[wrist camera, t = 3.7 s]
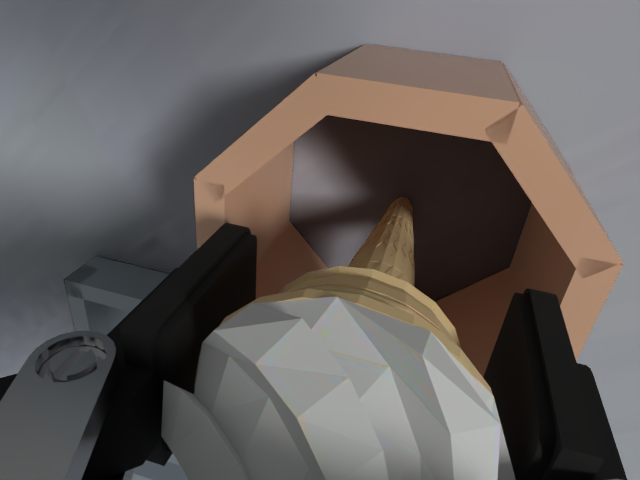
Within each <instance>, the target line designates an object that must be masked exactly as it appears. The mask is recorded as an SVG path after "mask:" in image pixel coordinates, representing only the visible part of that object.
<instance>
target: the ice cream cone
mask: <svg viewBox="0 0 640 480" xmlns="http://www.w3.org/2000/svg"><path fill="white" fill-rule="evenodd" d="M414 283H415V264H414V236H413V208H412V204H411V203H410V201H409V200H408V199H407V198H402V197H401V198H398V199H396V200H395V201H393V202H392V204H391V205H390V206H389V208H388V209H387V211H386V212H385V214H384V216H383V217H382V219H381V220H380V222H379V223H378V224H377V225H376V227H375V228H374V230H373V231H372V232H371V234H370V236H369V237H368V239H367V240H366V242H365V243H364V245H363V246H362V247H361V248H360V250H359V251H358V252H357V254H356V255H355V256H354V258H353V259H352V261H351V263H350V264H349V266H348V267H344V266H337V267H332V268H327V269H322V270H317V271H312V272H308V273H306V274H304V275H303V276H301V277H299V278H297V279H296V280H294V281H292V282H291V283H289V284H287V285H285V286H284V287H283V288H282V290H281V291H280V292H279V294H274V295H269V296H263V297H259V298H257V299H256V300H254V301H252V302H251V303H249V304H247V305H245V306H244V307H242V308H240V309H239V310H237V311H235V312H234V313H232V314H230V315H228V316H227V317H225V319H224V320H223V321H222V323H221V324H220V325H219V327H218V328H216V329H215V330H214V331H213V332H212V333H211V334H210V335H209V336H208V337H207V338H206V339H205V340H204V341H203V342H202V346H201V352H200V354H199V359H198V365H197V371H196V377H195V383H194V388H195V391H194V394H192V393H190V392H188V391H186V390H184V389H181V388H179V387H177V386H175V385H173V384H171V383H169V382H167V381H164V386H163V408H162V430H161V436H162V438H163V439H164V441H165V442H166V443H167V445H168V446H169V448H170V449H171V451H172V453H173V454H174V456H175V458H176V459H177V461H178V462H179V464H180V466H181V467H182V469H183V470H184V472H185V474H186V475H187V477H188V480H516V479H515V475H514V472H513V468H512V464H511V460H510V456H509V453H508V449H507V445H506V441H505V437H504V434H503V430H502V425H501V422H500V418H499V415H498V411H497V407H496V403H495V399H494V396H493V394H492V391H491V388H490V386H489V385H488V384H487V382H486V381H485V380H484V378H483V377H482V376H481V374H480V373H479V372H478V371H477V369H476V368H475V367H474V365H473V364H472V363H471V361H470V360H469V359H468V357H467V356H466V355H465V353H464V352H463V351H462V349H461V346H460V343H459V339H458V336H457V333H456V330H455V327H454V326H453V325H452V323H451V322H450V321H449V320H448V318H447V317H446V316H445V314H444V313H443V312H442V310H441V309H440V308H439V306H438V305H437V304H436V302H434V301H433V300H432V299H430V298H429V297H427V296H426V295H425V294H423V293H422V292H421V291H419V290H418V289H416V288H415V287H414Z"/></svg>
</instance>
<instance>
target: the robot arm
mask: <svg viewBox="0 0 640 480" xmlns="http://www.w3.org/2000/svg"><path fill="white" fill-rule="evenodd" d="M256 269H257V237H256V235H252V234H251V231H250V229H249V228H248V227H244V226H239V225H235V224H230V223H224V224H223V225H222V226H221V227H220V228H219V229H218V230H217V231H216V232H215V233H214V234H213V235H212V236H211V237H210V238H209V239H208V240H207V241H206V242H205V243H204V244H203V245H201V246H200V247H199V248H198V249H197V250H196V251H195V252H194V253H193V254H192V255H191V256H190V257H189V258H188V259H187V260H186V261H185V262H184V263H183V264H182V265H181V266H180V267H179V268H176V269H175V270H174V271H172V272H171V273H170V274H169V275H168V276H167V277H166V278H165V279H164V280H163V281H162V282H161V283H160V284H159V285H158V286H157V287H156V288H155V289H154V290H153V291H152V292H151V293H149V294H148V295H147V296H146V297H145V298H144V299H143V300H142V301H141V302H140V303H139V304H138V305H137V306H136V307H135V308H134V309H133V310H132V311H131V312H130V313H129V314H128V315H127V316H126V317H125V318H124V319H123V320H122V321H121V322H120V323H119V324H118V325H117V326H116V327H115V328H113V329H112V330H111V331H110V332H109V333H108V334H107V335H104V334H102V333H99V332H95V331H87V330H85V331H73V332H69V333H65V334H62V335H59V336H56V337H54V338H52V339H50V340H48V341H46V342H45V343H43V344H42V345H40V346H39V347H37V348H36V349H35V350H34V351H33V353H32V354H31V355H30V356H29V357H28V359H27V360H26V362H25V363H24V365H23V366H22V368H21V370H20V371H19V373H18V374H14V375H11V376H7V377H3V378H0V480H132V477H133V473H134V468H136V467H139V466H141V465H143V464H144V462H145V461H146V460H147V461H150V462H153V463H156V464H159V465H162V466H165V465H166V463H167V461H168V460H169V458H170V457H171V455H172V451H171V449H170V448H169V446H168V445H167V443H166V442H165V441H164V439H163V438H162V436H161V430H162V408H163V386H164V381H167V382H169V383H171V384H173V385H175V386H177V387H179V388H181V389H184V390H186V391H188V392H190V393H192V394H194V391H195V388H194V383H195V377H196V371H197V365H198V359H199V354H200V352H201V346H202V342H203V341H204V340H205V339H206V338H207V337H208V336H209V335H210V334H211V333H212V332H213V331H214V330H215V329H216V328H218V327H219V325H220V324H221V323H222V321H223V320H224V319H225V317H227V316H228V315H230V314H232V313H234V312H235V311H237V310H239V309H240V308H242V307H244V306H245V305H247V304H249V303H251V302H252V301H254V300H256ZM483 378H484V380H485V381H486V382H487V384H488V385H489V386H490V388H491V391H492V394H493V396H494V399H495V403H496V407H497V411H498V415H499V418H500V422H501V425H502V430H503V434H504V437H505V441H506V445H507V449H508V453H509V456H510V460H511V464H512V468H513V472H514V475H515V479H516V480H627V478H626V475H625V471H624V468H623V465H622V462H621V459H620V456H619V453H618V450H617V447H616V444H615V441H614V438H613V434H612V431H611V428H610V425H609V422H608V419H607V416H606V413H605V410H604V407H603V404H602V401H601V398H600V394H599V391H598V388H597V385H596V382H595V379H594V376H593V373H592V371H591V369H590V368H589V367H588V366H586V365H582V364H578V363H577V362H576V359H575V356H574V352H573V349H572V345H571V342H570V338H569V335H568V332H567V328H566V325H565V321H564V318H563V314H562V311H561V308H560V304H559V301H558V297H557V295H556V294H552V293H548V292H543V291H539V290H534V289H529V288H527V289H526V290H525V291H524V293H523V294H520V293H515V294H514V295H513V297H512V300H511V302H510V305H509V308H508V311H507V313H506V316H505V319H504V322H503V324H502V327H501V330H500V332H499V335H498V338H497V341H496V343H495V346H494V349H493V352H492V354H491V357H490V360H489V363H488V365H487V368H486V371H485V374H484V376H483Z"/></svg>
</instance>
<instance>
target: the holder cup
mask: <svg viewBox="0 0 640 480" xmlns="http://www.w3.org/2000/svg"><path fill="white" fill-rule="evenodd" d="M326 115H331V116H337V117H343V118H349V119H355V120H361V121H367V122H374V123H380V124H386V125H392V126H398V127H404V128H410V129H416V130H422V131H429V132H435V133H441V134H447V135H453V136H459V137H465V138H471V139H477V140H484V141H490V142H492V143H493V145H494V146H495V148H496V149H497V151H498V152H499V154H500V155H501V157H502V158H503V160H504V161H505V163H506V164H507V166H508V167H509V169H510V170H511V172H512V173H513V175H514V176H515V178H516V179H517V181H518V182H519V184H520V185H521V187H522V188H523V190H524V191H525V193H526V194H527V196H528V197H529V199H530V200H531V202H532V205H531V208H530V210H529V213H528V216H527V219H526V222H525V225H524V228H523V231H522V233H521V236H520V239H519V242H518V245H517V248H516V251H515V254H514V256H513V259H512V262H511V265H510V267H509V268H507V269H505V270H503V271H500V272H498V273H496V274H494V275H492V276H490V277H487V278H485V279H483V280H481V281H479V282H477V283H475V284H472V285H470V286H468V287H466V288H464V289H462V290H460V291H457V292H455V293H453V294H451V295H449V296H447V297H444V298H442V299H440V300H438V301H436V304H437V305H438V306H439V308H440V309H441V310H442V312H443V313H444V314H445V316H446V317H447V318H448V320H449V321H450V322H451V323H452V325H453V326H454V327H455V330H456V333H457V336H458V339H459V343H460V346H461V349H462V351H463V352H464V353H465V355H466V356H467V357H468V359H469V360H470V361H471V363H472V364H473V365H474V367H475V368H476V369H477V371H478V372H479V373H480V374H481V376H482V377H483V376H484V374H485V371H486V368H487V365H488V363H489V360H490V357H491V354H492V352H493V349H494V346H495V343H496V341H497V338H498V335H499V332H500V330H501V327H502V324H503V322H504V319H505V316H506V313H507V311H508V308H509V305H510V302H511V300H512V297H513V295H514V294H515V293H520V294H523V293H524V291H525V290H526V289H527V288H529V289H534V290H539V291H543V292H548V293H552V294H556V295H557V297H558V301H559V304H560V308H561V311H562V314H563V318H564V321H565V325H566V328H567V332H568V335H569V338H570V342H571V345H572V349H573V352H574V356H575V359H576V360H577V358H578V356H579V354H580V352H581V350H582V348H583V346H584V344H585V342H586V340H587V338H588V336H589V334H590V332H591V330H592V328H593V326H594V324H595V322H596V320H597V318H598V315H599V313H600V311H601V309H602V307H603V305H604V303H605V301H606V299H607V297H608V295H609V293H610V291H611V289H612V287H613V285H614V283H615V281H616V279H617V277H618V275H619V273H620V271H621V269H622V267H623V264H622V263H623V261H622V260H621V258H620V256H619V254H618V253H617V251H616V249H615V247H614V246H613V244H612V242H611V240H610V238H609V237H608V235H607V233H606V231H605V230H604V228H603V226H602V224H601V223H600V221H599V219H598V217H597V215H596V214H595V212H594V210H593V208H592V207H591V205H590V203H589V201H588V200H587V198H586V196H585V194H584V192H583V191H582V189H581V187H580V185H579V184H578V182H577V180H576V178H575V177H574V175H573V173H572V171H571V170H570V168H569V166H568V165H567V163H566V162H565V160H564V159H563V157H562V155H561V154H560V152H559V151H558V149H557V147H556V146H555V144H554V143H553V141H552V140H551V138H550V136H549V135H548V133H547V132H546V130H545V128H544V127H543V125H542V124H541V122H540V121H539V119H538V117H537V116H536V114H535V113H534V111H533V109H532V108H531V106H530V105H529V103H528V102H527V100H526V98H525V97H524V95H523V94H522V92H521V90H520V89H519V87H518V86H517V84H516V83H515V81H514V79H513V78H512V76H511V75H510V73H509V71H508V70H507V68H506V67H505V65H504V64H503V63H501V62H500V61H493V60H485V59H478V58H470V57H463V56H455V55H447V54H440V53H432V52H425V51H417V50H410V49H402V48H394V47H387V46H379V45H372V44H365V45H363V46H361V47H359V48H357V49H356V50H354V51H352V52H351V53H349V54H347V55H345V56H344V57H342V58H340V59H338V60H337V61H335V62H333V63H332V64H330V65H328V66H326V67H325V68H323V69H321V70H319V71H318V72H316V73H314V74H313V75H312V76H311V77H309V78H308V79H307V80H306V81H305V82H304V83H302V84H301V85H300V86H299V87H298V88H297V89H296V90H294V91H293V92H292V93H291V94H290V95H289V96H287V97H286V98H285V99H284V100H283V101H282V102H280V103H279V104H278V105H277V106H276V107H275V108H274V109H272V110H271V111H270V112H269V113H268V114H267V115H265V116H264V117H263V118H262V119H261V120H260V121H258V122H257V123H256V124H255V125H254V126H253V127H251V128H250V129H249V130H248V131H247V132H246V133H245V134H243V135H242V136H241V137H240V138H239V139H238V140H236V141H235V142H234V143H233V144H232V145H231V146H229V147H228V148H227V149H226V150H225V151H224V152H223V153H221V154H220V155H219V156H218V157H217V158H216V159H214V160H213V161H212V162H211V163H210V164H209V165H207V166H206V167H205V168H204V169H203V170H202V171H200V172H199V173H198V174H197V175H196V176H195V178H194V197H195V218H196V239H197V249H198V248H199V247H200V246H201V245H203V244H204V243H205V242H206V241H207V240H208V239H209V238H210V237H211V236H212V235H213V234H214V233H215V232H216V231H217V230H218V229H219V228H220V227H221V226H222V225H223V224H224V223H230V224H235V225H239V226H244V227H248V228H249V229H250V231H251V234H252V235H256V237H257V269H256V299H257V298H259V297H263V296H269V295H274V294H279V292H280V291H281V290H282V288H283V287H284V286H285V285H287V284H289V283H291V282H292V281H294V280H296V279H297V278H299V277H301V276H303V275H304V274H306V273H308V272H312V271H317V270H322V269H327V268H328V267H327V266H326V265H325V264H324V262H323V261H322V260H321V259H320V257H319V256H318V255H317V254H316V253H315V251H314V250H313V249H312V248H311V247H310V245H309V244H308V243H307V242H306V240H305V239H304V238H303V237H302V236H301V234H300V233H299V232H298V231H297V229H296V228H295V227H294V226H293V225H292V223H291V222H290V221H289V218H290V202H291V187H292V171H293V156H294V141H295V140H296V139H297V138H299V137H300V136H301V135H302V134H304V133H305V132H306V131H308V130H309V129H310V128H311V127H313V126H314V125H315V124H316V123H318V122H319V121H320V120H321V119H323V118H324V117H325V116H326Z"/></svg>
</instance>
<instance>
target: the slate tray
mask: <svg viewBox="0 0 640 480" xmlns="http://www.w3.org/2000/svg"><path fill="white" fill-rule="evenodd" d="M168 275H169V274H167V273H163V272H159V271H155V270H150V269H146V268H142V267H138V266H134V265H130V264H126V263H122V262H118V261H114V260H110V259H106V258H102V257H98V256H95V257H94V258H92V259H91V260H90V261H88V262H87V263H86V264H84V265H83V266H82V267H80V268H79V269H77V270H76V271H75V272H73V273H72V274H71V275H69V276H68V277H66V278H65V279H64V283H65V288H66V292H67V297H68V302H69V306H70V311H71V315H72V320H73V324H74V329H75V331H85V330H87V331H95V332H99V333H102V334H104V335H107V334H108V333H109V332H110V331H111V330H112V329H113V328H115V327H116V326H117V325H118V324H119V323H120V322H121V321H122V320H123V319H124V318H125V317H126V316H127V315H128V314H129V313H130V312H131V311H132V310H133V309H134V308H135V307H136V306H137V305H138V304H139V303H140V302H141V301H142V300H143V299H144V298H145V297H146V296H147V295H148V294H149V293H151V292H152V291H153V290H154V289H155V288H156V287H157V286H158V285H159V284H160V283H161V282H162V281H163V280H164V279H165V278H166V277H167V276H168ZM132 480H188V477H187V475H186V474H185V472H184V470H183V469H182V467H181V466H180V464H179V462H178V461H177V459H176V458H175V456H174V454H173V453H172V455H171V457H170V458H169V460H168V461H167V463H166V465H165V466H162V465H159V464H156V463H153V462H150V461H147V460H146V461H145V462H144V464H143V465H141V466H139V467H136V468H134V473H133V477H132Z"/></svg>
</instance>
